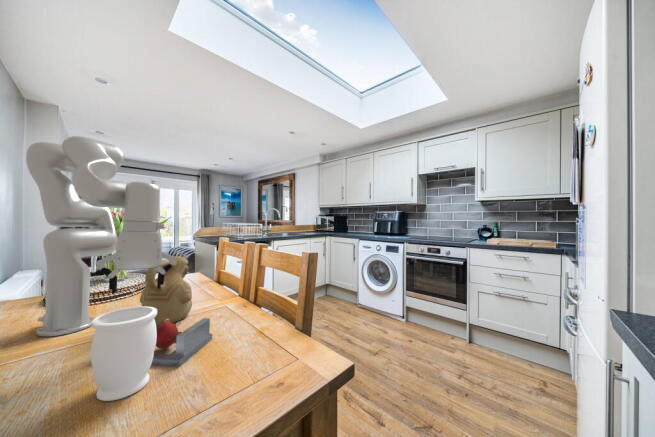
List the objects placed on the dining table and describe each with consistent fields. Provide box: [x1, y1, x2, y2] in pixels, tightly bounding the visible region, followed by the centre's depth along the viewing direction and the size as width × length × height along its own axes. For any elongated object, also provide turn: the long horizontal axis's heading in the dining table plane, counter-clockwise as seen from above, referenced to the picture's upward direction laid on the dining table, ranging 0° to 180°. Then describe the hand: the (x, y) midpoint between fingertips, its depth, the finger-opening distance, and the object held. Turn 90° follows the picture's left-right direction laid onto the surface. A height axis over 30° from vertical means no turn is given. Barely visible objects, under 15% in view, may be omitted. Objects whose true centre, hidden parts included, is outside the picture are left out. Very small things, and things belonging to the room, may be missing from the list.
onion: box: [155, 319, 179, 350], centre depth 65 cm, size 6×6×8 cm
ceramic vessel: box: [139, 255, 193, 327], centre depth 85 cm, size 17×20×25 cm
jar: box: [90, 305, 157, 402], centre depth 50 cm, size 11×10×15 cm
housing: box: [151, 317, 213, 368], centre depth 65 cm, size 22×14×6 cm, turn 85°
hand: (137, 289), depth 66 cm, fingers open, 9 cm apart
